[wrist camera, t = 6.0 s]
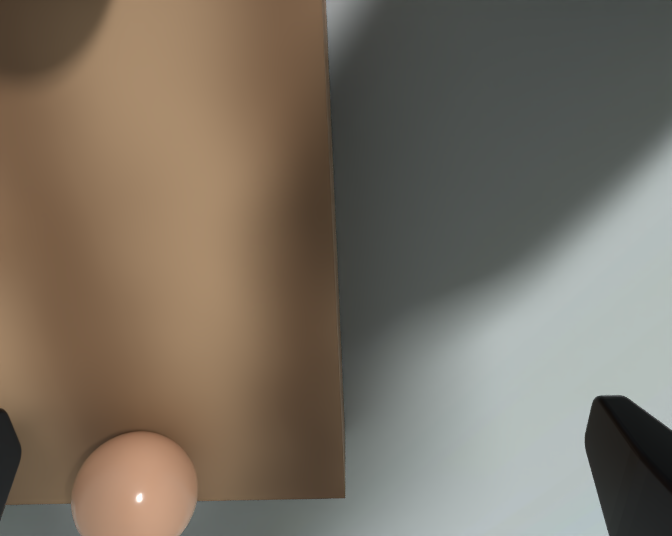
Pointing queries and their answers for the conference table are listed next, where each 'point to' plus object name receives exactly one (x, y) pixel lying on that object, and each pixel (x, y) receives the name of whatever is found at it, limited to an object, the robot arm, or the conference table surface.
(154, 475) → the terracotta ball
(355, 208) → the conference table surface
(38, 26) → the walnut deck
